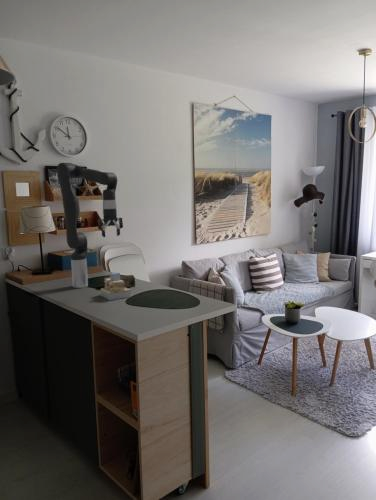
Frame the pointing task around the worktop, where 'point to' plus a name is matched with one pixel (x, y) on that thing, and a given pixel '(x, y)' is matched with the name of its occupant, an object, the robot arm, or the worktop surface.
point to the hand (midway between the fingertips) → (111, 236)
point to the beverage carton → (125, 280)
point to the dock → (115, 294)
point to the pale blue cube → (115, 276)
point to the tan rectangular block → (114, 285)
